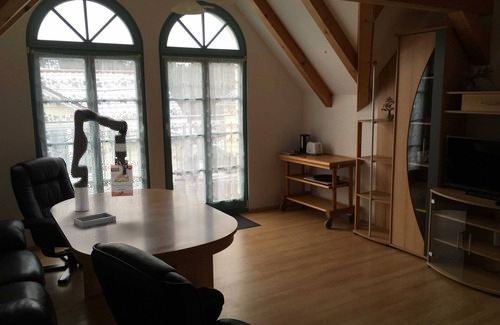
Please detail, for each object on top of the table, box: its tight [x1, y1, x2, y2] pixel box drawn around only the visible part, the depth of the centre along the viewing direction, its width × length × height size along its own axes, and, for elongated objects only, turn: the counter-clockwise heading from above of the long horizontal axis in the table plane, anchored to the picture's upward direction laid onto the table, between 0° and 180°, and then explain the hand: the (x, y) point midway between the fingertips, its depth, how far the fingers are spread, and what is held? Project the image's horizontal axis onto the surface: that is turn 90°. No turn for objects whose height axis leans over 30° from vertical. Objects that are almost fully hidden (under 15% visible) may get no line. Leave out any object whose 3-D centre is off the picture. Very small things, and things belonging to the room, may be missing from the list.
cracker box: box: [110, 164, 134, 197], centre depth 280 cm, size 14×6×21 cm, turn 105°
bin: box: [72, 212, 117, 230], centre depth 270 cm, size 14×22×4 cm, turn 134°
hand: (121, 174), depth 279 cm, fingers closed on cracker box, 8 cm apart
